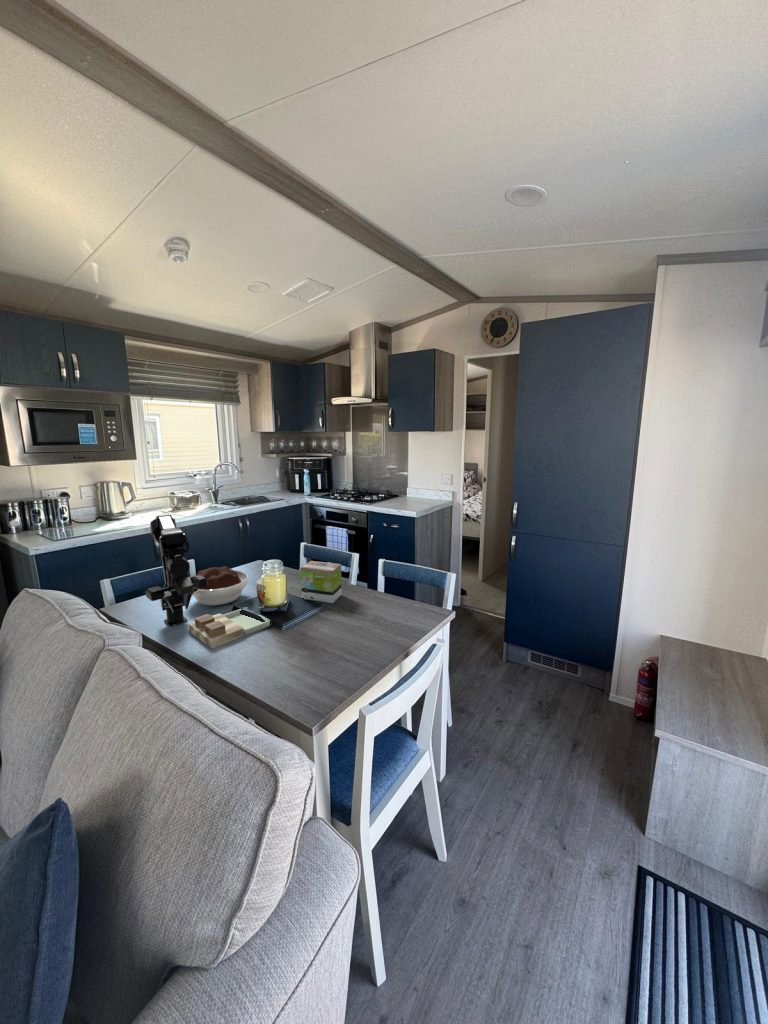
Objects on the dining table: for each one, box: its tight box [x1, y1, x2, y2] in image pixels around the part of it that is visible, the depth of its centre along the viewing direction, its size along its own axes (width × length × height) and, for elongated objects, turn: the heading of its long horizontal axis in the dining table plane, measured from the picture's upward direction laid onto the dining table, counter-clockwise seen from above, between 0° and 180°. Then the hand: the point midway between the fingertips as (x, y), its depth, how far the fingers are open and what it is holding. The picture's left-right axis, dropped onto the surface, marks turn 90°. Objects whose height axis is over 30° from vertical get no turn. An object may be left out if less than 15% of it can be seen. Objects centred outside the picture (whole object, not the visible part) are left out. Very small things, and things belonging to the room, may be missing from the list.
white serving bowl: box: [192, 566, 249, 606], centre depth 182 cm, size 25×25×15 cm
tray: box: [222, 606, 272, 637], centre depth 162 cm, size 18×11×2 cm, turn 47°
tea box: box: [300, 560, 343, 604], centre depth 185 cm, size 15×10×15 cm, turn 73°
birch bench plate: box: [187, 613, 245, 649], centre depth 154 cm, size 18×12×3 cm, turn 47°
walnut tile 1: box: [194, 613, 215, 629], centre depth 155 cm, size 5×5×2 cm
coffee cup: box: [255, 577, 266, 607], centre depth 174 cm, size 9×9×12 cm
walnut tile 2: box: [205, 620, 226, 636], centre depth 149 cm, size 5×5×2 cm
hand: (180, 610), depth 148 cm, fingers open, 4 cm apart
